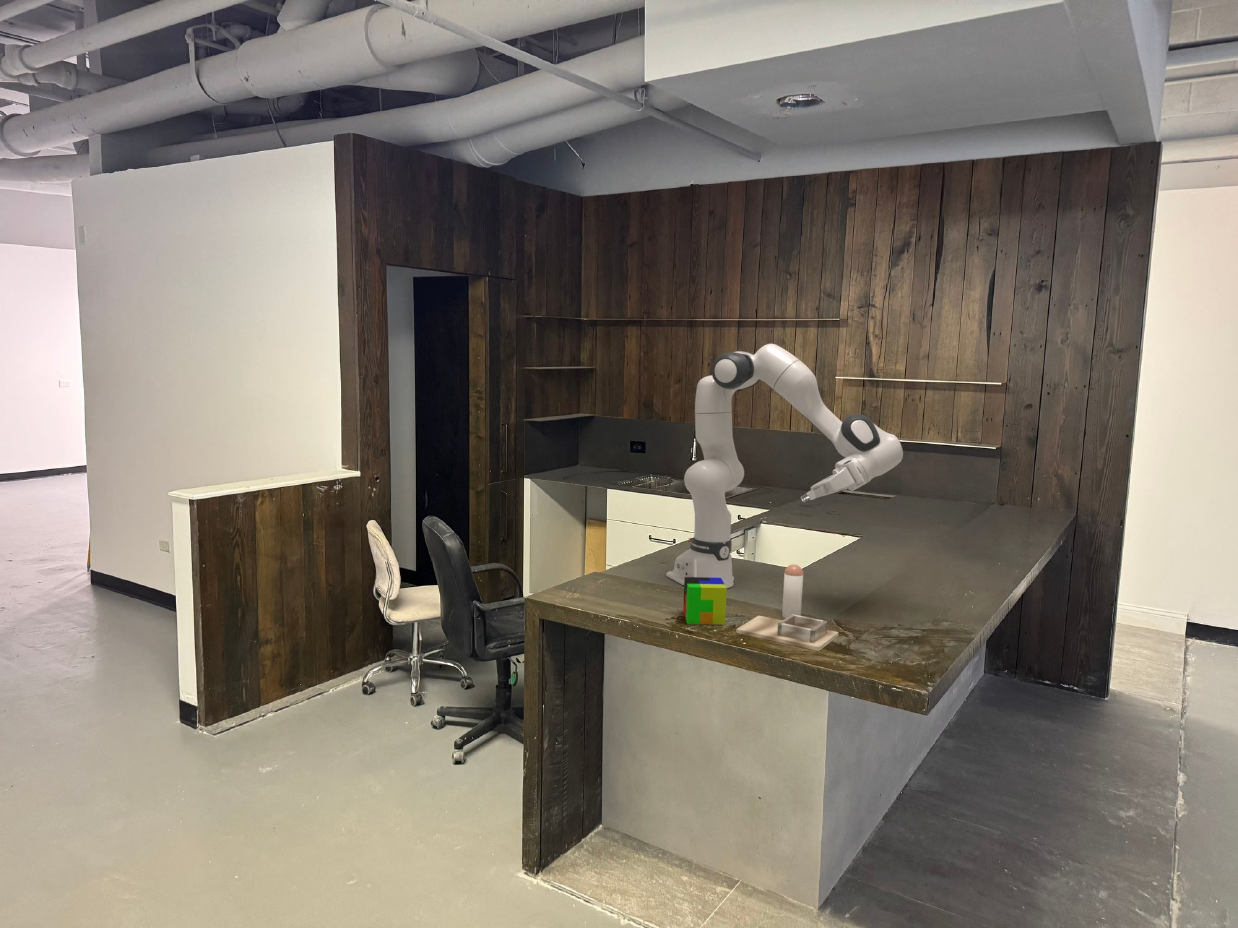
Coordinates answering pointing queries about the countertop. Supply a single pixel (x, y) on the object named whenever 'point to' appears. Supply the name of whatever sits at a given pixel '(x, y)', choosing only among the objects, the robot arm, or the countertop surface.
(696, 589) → the puzzle toy
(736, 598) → the countertop surface
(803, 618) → the jig cradle
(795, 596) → the dome-capped white cylinder
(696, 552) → the robot arm
